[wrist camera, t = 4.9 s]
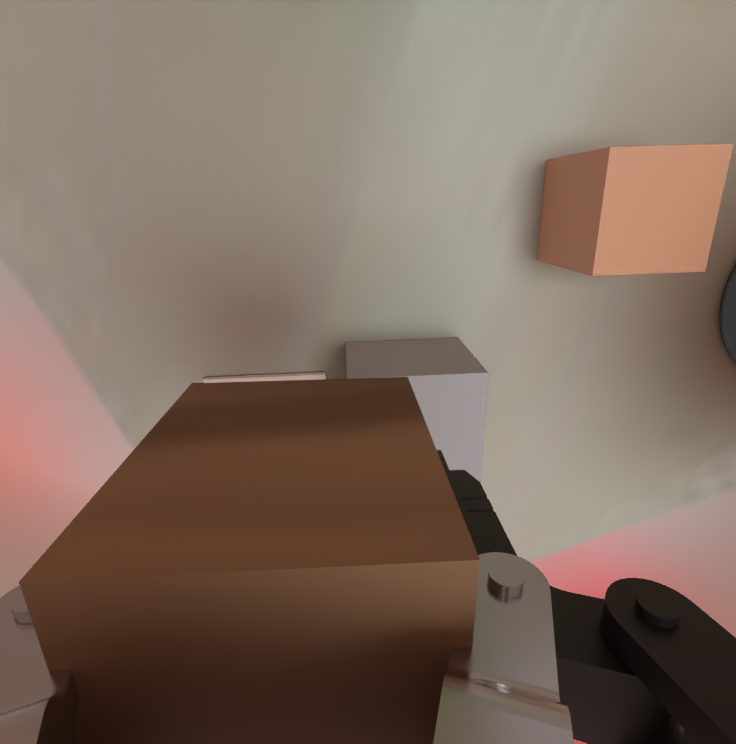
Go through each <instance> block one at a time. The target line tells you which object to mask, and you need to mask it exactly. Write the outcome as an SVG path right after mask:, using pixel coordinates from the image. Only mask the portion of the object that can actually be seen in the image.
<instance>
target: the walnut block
mask: <svg viewBox="0 0 736 744" xmlns="http://www.w3.org/2000/svg"><path fill="white" fill-rule="evenodd" d="M479 565H480V559H479V556H478V554H477V551H476V549H475V546H474V544H473V541H472V539H471V536H470V533H469V531H468V528H467V526H466V523H465V521H464V518H463V516H462V513H461V511H460V508H459V506H458V503H457V500H456V498H455V495H454V493H453V490H452V488H451V485H450V483H449V480H448V478H447V475H446V473H445V470H444V468H443V465H442V462H441V460H440V457H439V455H438V452H437V450H436V447H435V445H434V442H433V440H432V437H431V435H430V432H429V429H428V427H427V424H426V422H425V419H424V417H423V414H422V412H421V409H420V407H419V404H418V402H417V399H416V396H415V394H414V391H413V389H412V386H411V384H410V381H409V379H408V377H388V378H354V379H320V380H286V381H252V382H218V383H192V384H191V385H190V386H189V387H188V388H187V389H186V391H185V392H184V393H183V394H182V395H181V396H180V398H179V399H178V400H177V401H176V402H175V403H174V404H173V406H172V407H171V408H170V409H169V410H168V411H167V412H166V414H165V415H164V416H163V417H162V418H161V419H160V421H159V422H158V423H157V424H156V425H155V426H154V427H153V429H152V430H151V431H150V432H149V433H148V434H147V435H146V437H145V438H144V439H143V440H142V441H141V442H140V444H139V445H138V446H137V447H136V448H135V449H134V450H133V452H132V453H131V454H130V455H129V456H128V457H127V459H126V460H125V461H124V462H123V463H122V464H121V465H120V467H119V468H118V469H117V470H116V471H115V472H114V473H113V475H112V476H111V477H110V478H109V479H108V480H107V482H106V483H105V484H104V485H103V486H102V487H101V488H100V490H99V491H98V492H97V493H96V494H95V495H94V496H93V498H92V499H91V500H90V501H89V502H88V503H87V504H86V506H85V507H84V508H83V509H82V510H81V511H80V513H79V514H78V515H77V516H76V517H75V518H74V519H73V521H72V522H71V523H70V524H69V525H68V526H67V527H66V529H65V530H64V531H63V532H62V533H61V535H60V536H59V537H58V538H57V539H56V540H55V541H54V543H53V544H52V545H51V546H50V547H49V548H48V549H47V550H46V552H45V553H44V554H43V555H42V556H41V557H40V559H39V560H38V561H37V562H36V563H35V564H34V565H33V567H32V568H31V569H30V570H29V572H27V573H26V575H25V576H24V577H23V578H22V579H21V580H20V582H19V584H20V587H21V590H22V593H23V596H24V599H25V602H26V605H27V608H28V611H29V614H30V617H31V620H32V623H33V626H34V629H35V631H36V634H37V637H38V640H39V643H40V646H41V649H42V652H43V655H44V658H45V661H46V664H47V667H48V670H49V671H50V670H68V669H71V671H72V674H73V677H74V680H75V683H76V687H77V690H78V693H79V696H80V697H79V703H78V709H77V716H76V744H433V742H434V735H435V729H436V723H437V716H438V710H439V704H440V698H441V692H442V686H443V680H444V676H445V672H448V667H449V661H450V654H451V648H454V647H472V646H473V634H474V623H475V611H476V600H477V588H478V576H479Z"/></svg>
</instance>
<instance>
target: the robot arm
mask: <svg viewBox="0 0 736 744" xmlns="http://www.w3.org/2000/svg"><path fill="white" fill-rule="evenodd" d="M437 452H438V455H439V457H440V460H441V462H442V465H443V468H444V470H445V473H446V475H447V478H448V480H449V483H450V485H451V488H452V490H453V493H454V495H455V498H456V500H457V503H458V506H459V508H460V511H461V513H462V516H463V518H464V521H465V523H466V526H467V528H468V531H469V533H470V536H471V539H472V541H473V544H474V546H475V549H476V551H477V554H478V556H479V559H480V565H479V576H478V588H477V600H476V611H475V623H474V634H473V646H472V647H454V648H451V654H450V661H449V667H448V672H445V676H444V680H443V686H442V692H441V698H440V704H439V710H438V716H437V723H436V729H435V735H434V742H433V744H574V742H573V739H576V740H579V741H582V742H586V743H587V744H736V638H735V637H733V635H731V634H730V633H729V632H728V631H727V630H725V629H724V628H723V627H722V626H720V625H719V624H718V623H717V622H716V621H715V620H713V619H712V618H711V617H709V615H707V614H706V613H705V612H704V611H702V610H701V609H700V608H699V607H698V606H696V605H695V604H694V603H693V602H692V601H690V600H689V599H688V598H686V597H685V596H683V595H682V594H680V593H679V592H677V591H675V590H673V589H671V588H669V587H667V586H665V585H662V584H660V583H657V582H654V581H651V580H646V579H638V578H626V579H620V580H618V581H615V582H614V583H612V584H611V585H610V586H609V587H608V589H607V592H606V595H605V599H599V598H595V597H590V596H585V595H580V594H575V593H571V592H566V591H563V590H560V589H557V588H554V587H552V586H550V585H549V583H548V581H547V579H546V578H545V576H544V575H543V573H542V572H541V571H540V570H539V569H538V568H537V567H535V566H534V565H533V564H531V563H530V562H528V561H527V560H525V559H523V558H521V557H518V556H517V555H516V553H515V551H514V549H513V547H512V545H511V543H510V541H509V539H508V537H507V535H506V533H505V531H504V529H503V527H502V525H501V523H500V521H499V519H498V517H497V515H496V513H495V512H493V507H492V505H491V503H490V501H489V499H487V496H486V494H485V492H484V490H483V488H482V486H481V484H480V482H479V481H478V480H477V479H475V478H474V477H473V476H472V475H470V474H469V473H468V472H467V471H465V470H449V468H448V465H447V463H446V460H445V458H444V456H443V453H442V451H441V450H437ZM79 697H80V696H79V693H78V690H77V687H76V683H75V680H74V677H73V674H72V671H71V669H68V670H50V671H49V670H48V667H47V664H46V661H45V658H44V655H43V652H42V649H41V646H40V643H39V640H38V637H37V634H36V631H35V629H34V626H33V623H32V620H31V617H30V614H29V611H28V608H27V605H26V602H25V599H24V596H23V593H22V590H21V587H20V585H19V586H18V587H16V588H14V589H12V590H11V591H9V592H8V593H6V594H5V595H3V596H2V597H1V598H0V744H76V716H77V709H78V703H79Z"/></svg>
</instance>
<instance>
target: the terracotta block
mask: <svg viewBox="0 0 736 744" xmlns="http://www.w3.org/2000/svg"><path fill="white" fill-rule="evenodd" d="M732 149H733V144H704V145H667V146H630V147H608V148H603V149H599V150H594V151H589V152H584V153H579V154H575V155H570V156H565V157H560V158H556V159H551V160H547V164H546V174H545V185H544V195H543V205H542V216H541V226H540V236H539V247H538V257H537V260H539V261H543V262H546V263H550V264H553V265H557V266H560V267H564V268H567V269H570V270H574V271H577V272H581V273H584V274H588V275H591V276H603V275H629V274H655V273H681V272H705V270H706V266H707V261H708V257H709V252H710V248H711V243H712V239H713V234H714V230H715V225H716V221H717V216H718V212H719V207H720V203H721V198H722V194H723V189H724V185H725V180H726V176H727V171H728V167H729V162H730V158H731V153H732Z"/></svg>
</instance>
